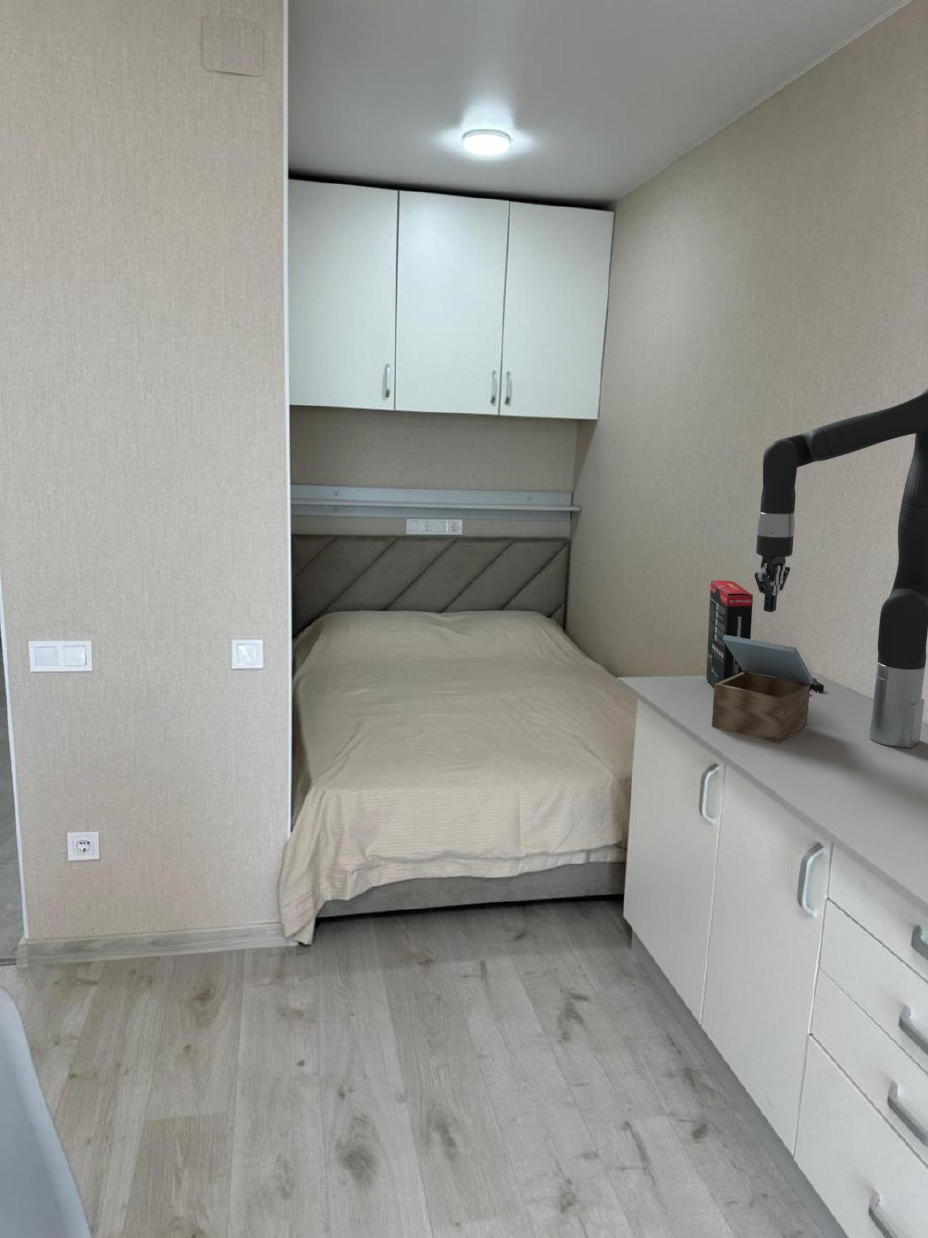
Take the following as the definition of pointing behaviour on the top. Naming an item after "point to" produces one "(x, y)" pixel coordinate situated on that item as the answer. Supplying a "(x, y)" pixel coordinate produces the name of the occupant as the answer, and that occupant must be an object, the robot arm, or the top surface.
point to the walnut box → (760, 706)
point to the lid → (768, 659)
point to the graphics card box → (726, 627)
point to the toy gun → (815, 685)
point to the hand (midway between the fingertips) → (769, 611)
